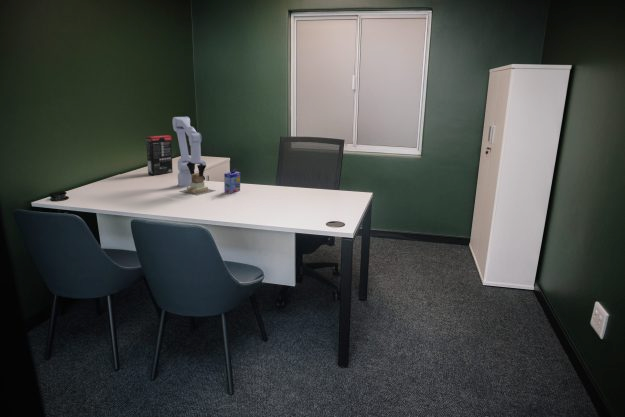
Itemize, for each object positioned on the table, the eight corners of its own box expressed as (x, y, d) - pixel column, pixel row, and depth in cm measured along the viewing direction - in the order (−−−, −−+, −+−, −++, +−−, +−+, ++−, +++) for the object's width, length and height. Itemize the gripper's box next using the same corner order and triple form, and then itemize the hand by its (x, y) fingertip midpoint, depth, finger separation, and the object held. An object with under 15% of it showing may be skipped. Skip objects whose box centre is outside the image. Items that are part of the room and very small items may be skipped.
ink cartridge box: (231, 194, 270) (230, 170, 266) (224, 193, 272) (223, 169, 268) (241, 191, 278) (240, 168, 274) (233, 190, 281) (233, 167, 277)
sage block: (190, 187, 272) (189, 182, 271) (197, 185, 277) (197, 180, 276) (197, 188, 269) (196, 183, 268) (204, 186, 274) (204, 182, 273)
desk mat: (178, 192, 271) (178, 191, 271) (198, 187, 284) (198, 186, 284) (196, 196, 263) (196, 195, 263) (216, 191, 276) (216, 190, 276)
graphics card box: (167, 171, 331) (165, 134, 324) (173, 172, 327) (171, 135, 320) (147, 174, 318) (144, 136, 310) (153, 176, 314) (151, 137, 307)
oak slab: (186, 191, 272) (186, 187, 272) (197, 188, 279) (197, 184, 279) (197, 193, 267) (196, 189, 267) (208, 190, 275) (207, 186, 274)
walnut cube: (191, 182, 271) (191, 174, 270) (197, 181, 275) (197, 173, 274) (197, 183, 269) (196, 175, 267) (203, 182, 273) (203, 174, 271)
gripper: (209, 153, 267) (210, 176, 270) (192, 151, 274) (193, 173, 278) (200, 155, 261) (201, 177, 265) (183, 152, 268) (184, 174, 272)
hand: (196, 175), depth 271 cm, fingers open, 7 cm apart
